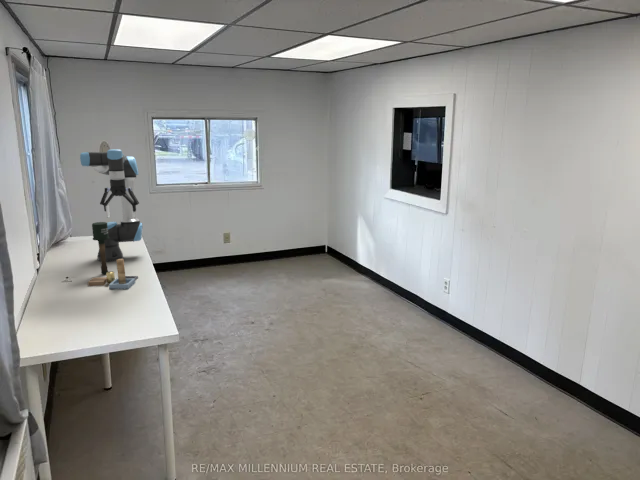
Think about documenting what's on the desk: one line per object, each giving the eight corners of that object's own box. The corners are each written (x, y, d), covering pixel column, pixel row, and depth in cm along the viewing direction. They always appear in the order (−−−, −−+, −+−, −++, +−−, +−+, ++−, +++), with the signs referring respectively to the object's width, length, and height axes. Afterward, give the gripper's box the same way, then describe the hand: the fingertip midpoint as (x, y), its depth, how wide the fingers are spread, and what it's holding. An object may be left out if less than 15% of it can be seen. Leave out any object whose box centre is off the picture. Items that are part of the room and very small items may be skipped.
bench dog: (109, 281, 262) (107, 271, 260) (116, 281, 262) (115, 271, 260) (106, 284, 258) (104, 273, 256) (113, 284, 258) (112, 273, 256)
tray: (116, 282, 260) (116, 278, 259) (135, 282, 260) (134, 278, 259) (109, 289, 250) (108, 284, 249) (128, 289, 250) (128, 284, 250)
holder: (125, 278, 268) (125, 276, 268) (138, 278, 268) (137, 276, 268) (120, 282, 261) (120, 280, 261) (133, 282, 261) (133, 280, 261)
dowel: (120, 283, 257) (117, 258, 253) (127, 283, 257) (124, 258, 253) (117, 285, 253) (115, 260, 250) (124, 285, 253) (122, 260, 250)
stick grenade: (106, 276, 270) (101, 225, 263) (93, 275, 272) (87, 224, 265) (116, 272, 278) (111, 222, 271) (102, 271, 280) (97, 221, 273)
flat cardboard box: (93, 282, 263) (92, 277, 262) (108, 281, 264) (108, 277, 263) (88, 286, 255) (87, 282, 255) (104, 286, 256) (103, 281, 256)
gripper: (90, 179, 252) (95, 218, 258) (138, 179, 253) (141, 218, 258) (96, 177, 260) (100, 215, 265) (142, 178, 260) (146, 216, 266)
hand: (121, 217), depth 262 cm, fingers open, 13 cm apart
